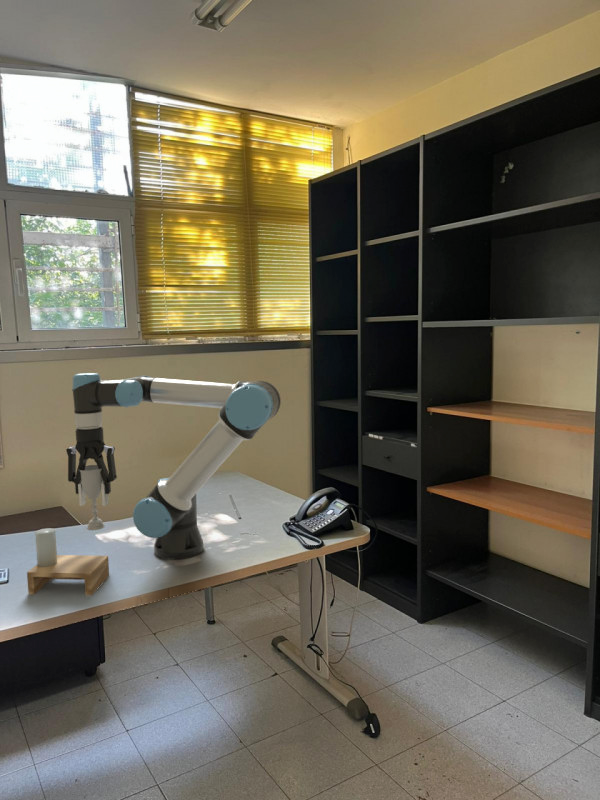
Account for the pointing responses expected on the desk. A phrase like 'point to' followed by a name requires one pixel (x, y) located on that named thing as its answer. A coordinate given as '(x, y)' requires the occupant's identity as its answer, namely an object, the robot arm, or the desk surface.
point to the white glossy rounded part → (46, 547)
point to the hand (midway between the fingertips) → (94, 504)
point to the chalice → (92, 492)
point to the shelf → (71, 572)
